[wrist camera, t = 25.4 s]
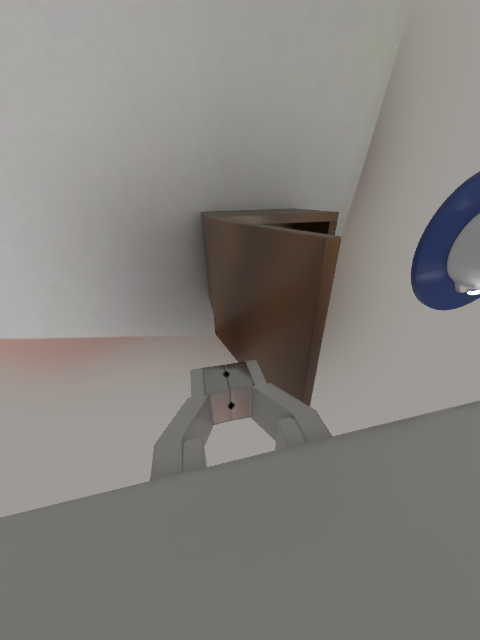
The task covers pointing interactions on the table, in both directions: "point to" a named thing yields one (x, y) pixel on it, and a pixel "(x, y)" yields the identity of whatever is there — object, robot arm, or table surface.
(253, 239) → the lid
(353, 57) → the table surface
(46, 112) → the table surface
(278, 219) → the brown wooden box
